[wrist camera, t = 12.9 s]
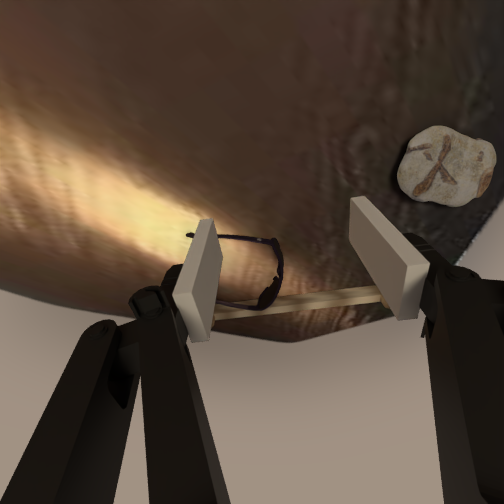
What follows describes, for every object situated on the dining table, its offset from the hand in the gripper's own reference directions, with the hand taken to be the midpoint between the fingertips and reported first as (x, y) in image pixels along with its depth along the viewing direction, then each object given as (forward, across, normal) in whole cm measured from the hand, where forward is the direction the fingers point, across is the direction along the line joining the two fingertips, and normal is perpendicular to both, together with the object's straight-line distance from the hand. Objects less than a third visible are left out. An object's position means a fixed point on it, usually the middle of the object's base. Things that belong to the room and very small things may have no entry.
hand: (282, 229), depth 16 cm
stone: (+24, +24, -10) cm, 35 cm away
